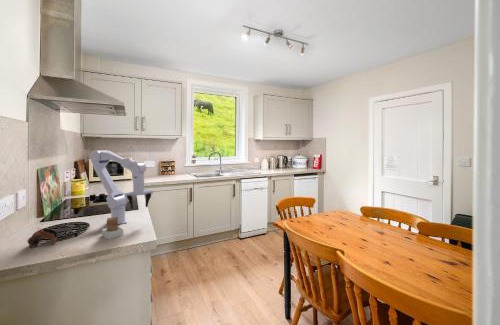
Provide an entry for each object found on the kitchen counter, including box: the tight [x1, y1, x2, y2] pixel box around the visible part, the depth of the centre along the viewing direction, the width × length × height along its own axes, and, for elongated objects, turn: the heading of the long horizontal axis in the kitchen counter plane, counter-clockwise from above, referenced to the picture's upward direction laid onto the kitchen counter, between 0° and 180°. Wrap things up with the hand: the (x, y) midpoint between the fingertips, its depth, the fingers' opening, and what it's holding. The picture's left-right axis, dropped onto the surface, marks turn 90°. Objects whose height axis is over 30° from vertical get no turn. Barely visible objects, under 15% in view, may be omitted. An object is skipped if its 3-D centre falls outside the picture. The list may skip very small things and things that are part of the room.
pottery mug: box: [27, 227, 59, 249], centre depth 107 cm, size 12×10×8 cm
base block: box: [101, 226, 124, 240], centre depth 120 cm, size 7×7×4 cm
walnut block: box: [106, 217, 119, 231], centre depth 119 cm, size 4×4×6 cm
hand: (139, 207), depth 135 cm, fingers open, 7 cm apart
